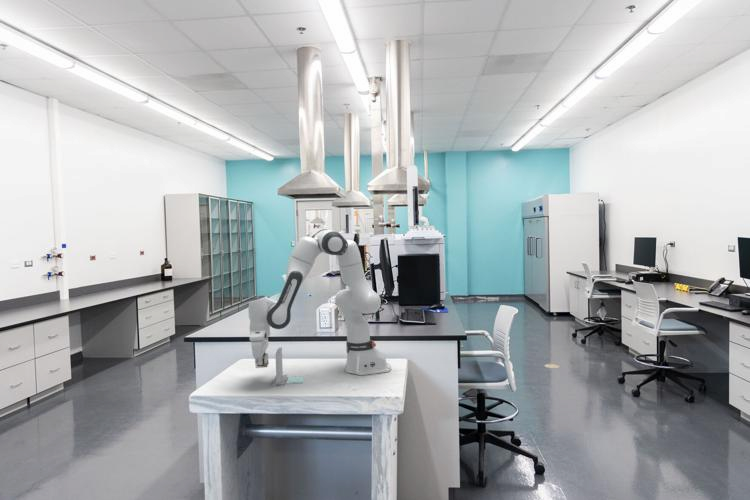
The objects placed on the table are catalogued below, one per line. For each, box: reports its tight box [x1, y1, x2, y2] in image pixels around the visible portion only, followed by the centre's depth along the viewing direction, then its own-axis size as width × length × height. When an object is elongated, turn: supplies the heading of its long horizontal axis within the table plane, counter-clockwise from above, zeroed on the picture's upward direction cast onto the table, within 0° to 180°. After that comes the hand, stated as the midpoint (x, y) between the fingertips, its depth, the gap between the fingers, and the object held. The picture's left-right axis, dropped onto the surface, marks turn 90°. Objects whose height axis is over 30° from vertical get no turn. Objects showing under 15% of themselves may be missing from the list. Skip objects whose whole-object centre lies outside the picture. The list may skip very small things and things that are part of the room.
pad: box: [286, 376, 304, 385], centre depth 206 cm, size 7×7×1 cm
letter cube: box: [254, 352, 270, 369], centre depth 205 cm, size 5×5×5 cm
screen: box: [272, 346, 288, 387], centre depth 206 cm, size 5×12×14 cm, turn 6°
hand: (262, 362), depth 205 cm, fingers closed on letter cube, 5 cm apart
